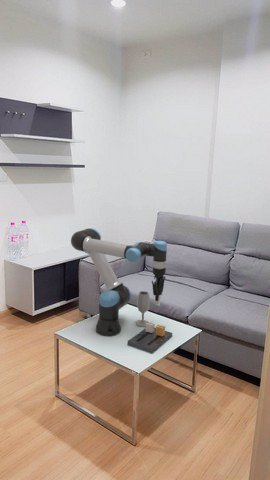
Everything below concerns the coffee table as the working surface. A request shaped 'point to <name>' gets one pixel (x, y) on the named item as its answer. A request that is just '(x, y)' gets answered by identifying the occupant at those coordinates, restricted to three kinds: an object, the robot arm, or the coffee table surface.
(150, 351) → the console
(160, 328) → the block
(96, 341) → the coffee table surface
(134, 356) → the coffee table surface
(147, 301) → the wineglass
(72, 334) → the coffee table surface
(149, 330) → the fader
